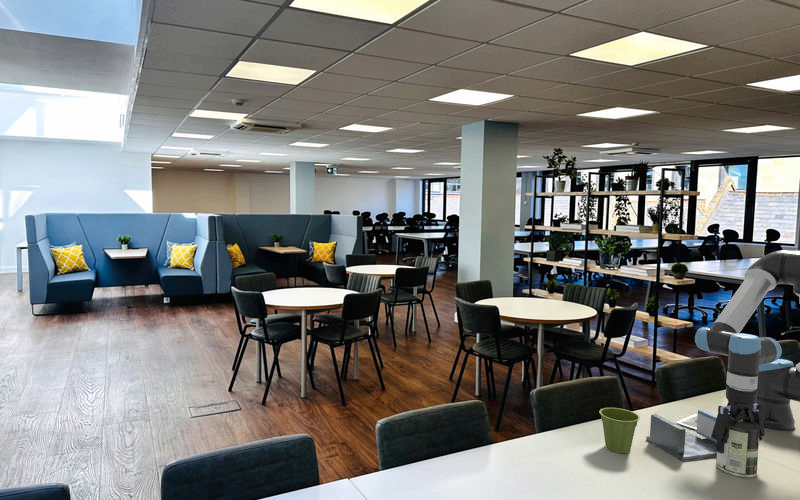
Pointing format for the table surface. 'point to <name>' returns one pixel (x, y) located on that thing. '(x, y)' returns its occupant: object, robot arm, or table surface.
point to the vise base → (679, 440)
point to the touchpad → (689, 421)
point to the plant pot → (618, 428)
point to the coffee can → (742, 449)
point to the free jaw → (706, 424)
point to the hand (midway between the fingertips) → (736, 461)
